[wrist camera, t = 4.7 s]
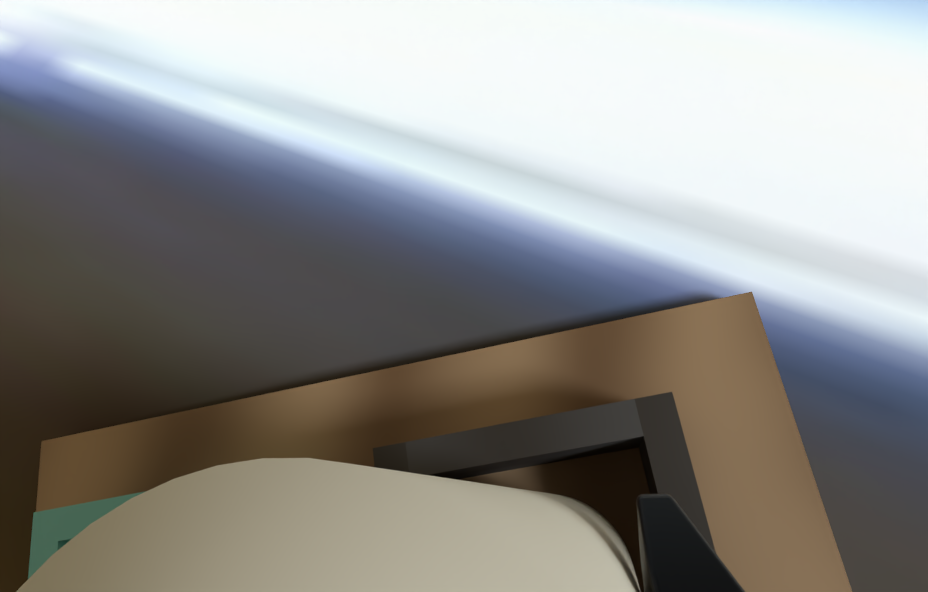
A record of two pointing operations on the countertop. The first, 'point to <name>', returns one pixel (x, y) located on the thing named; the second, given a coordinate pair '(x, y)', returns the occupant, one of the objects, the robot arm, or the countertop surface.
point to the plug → (339, 536)
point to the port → (65, 526)
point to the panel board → (534, 435)
